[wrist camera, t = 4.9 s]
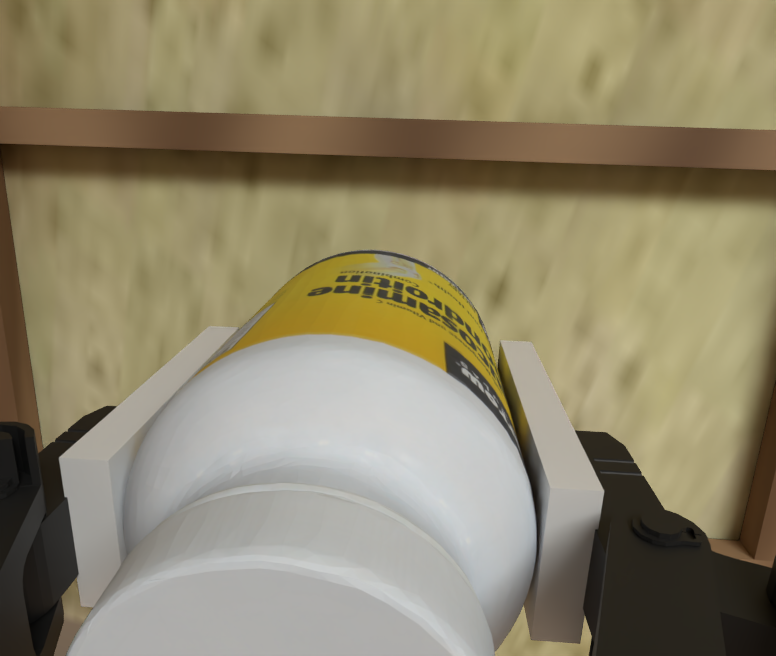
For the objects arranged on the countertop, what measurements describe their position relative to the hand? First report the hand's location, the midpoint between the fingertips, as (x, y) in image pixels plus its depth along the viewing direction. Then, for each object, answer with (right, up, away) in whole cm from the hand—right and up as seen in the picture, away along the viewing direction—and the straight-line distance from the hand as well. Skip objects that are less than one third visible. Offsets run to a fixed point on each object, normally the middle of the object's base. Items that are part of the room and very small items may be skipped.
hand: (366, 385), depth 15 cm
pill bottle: (0, +1, +2) cm, 2 cm away
